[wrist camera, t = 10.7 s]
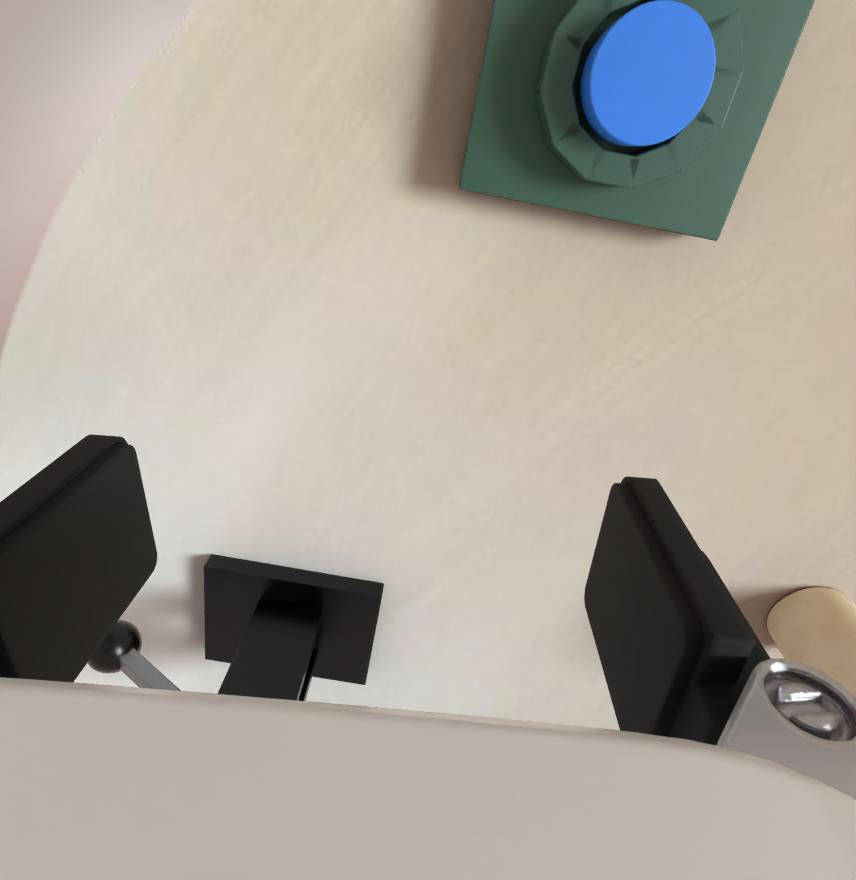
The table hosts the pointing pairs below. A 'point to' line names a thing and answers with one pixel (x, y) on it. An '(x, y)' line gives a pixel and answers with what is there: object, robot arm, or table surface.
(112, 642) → the lever
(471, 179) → the switch box
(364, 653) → the switch bracket
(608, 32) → the button
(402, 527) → the table surface
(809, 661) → the candle
